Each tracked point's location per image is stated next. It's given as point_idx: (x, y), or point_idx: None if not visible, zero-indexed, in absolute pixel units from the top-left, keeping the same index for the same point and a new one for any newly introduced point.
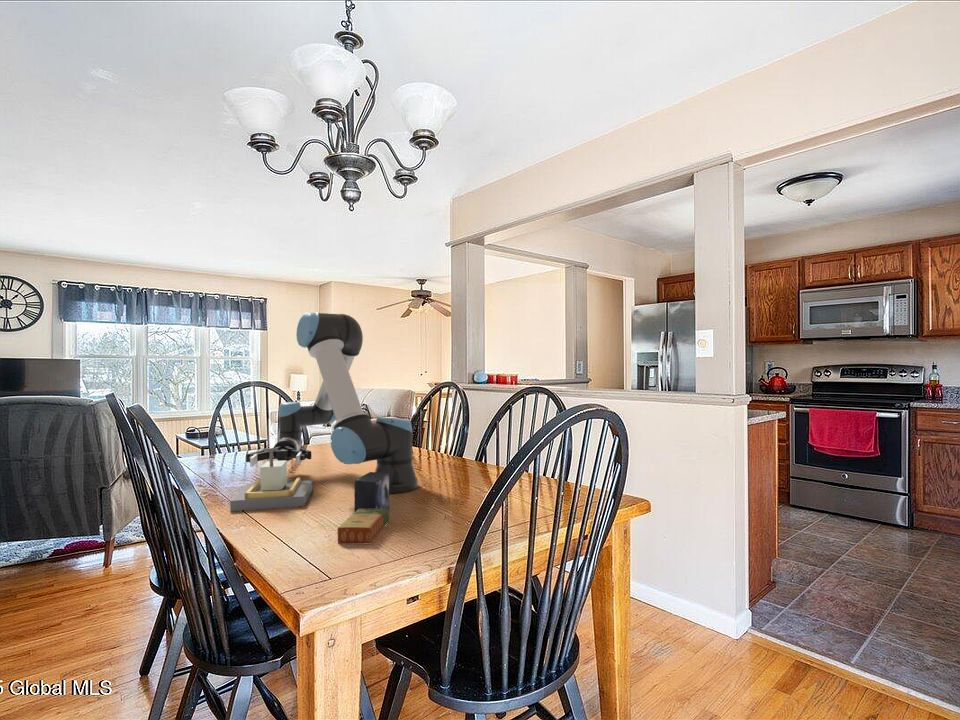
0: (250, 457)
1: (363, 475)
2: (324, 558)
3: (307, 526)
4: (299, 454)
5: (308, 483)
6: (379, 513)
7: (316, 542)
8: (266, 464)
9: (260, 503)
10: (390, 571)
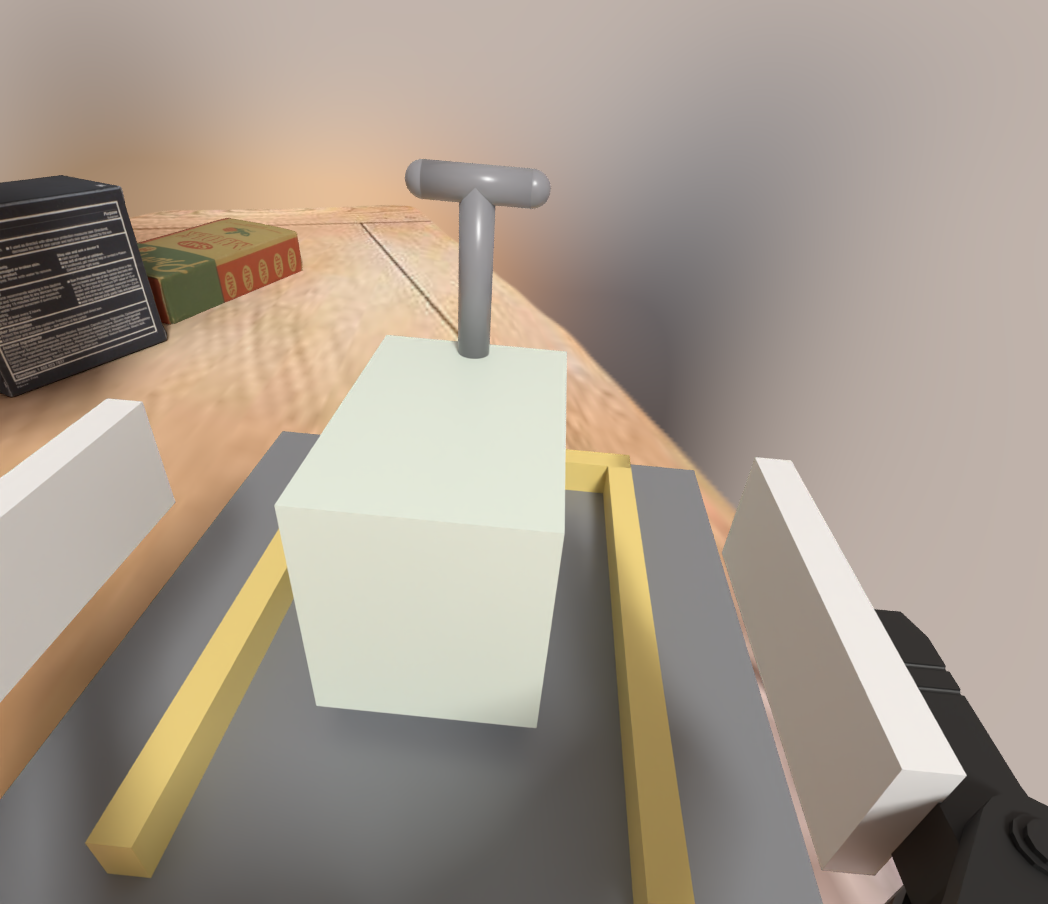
0: (932, 670)
1: (24, 199)
2: (352, 248)
3: (343, 335)
4: (24, 464)
5: (70, 741)
6: (139, 246)
7: (347, 280)
8: (531, 407)
9: None
10: (265, 216)
